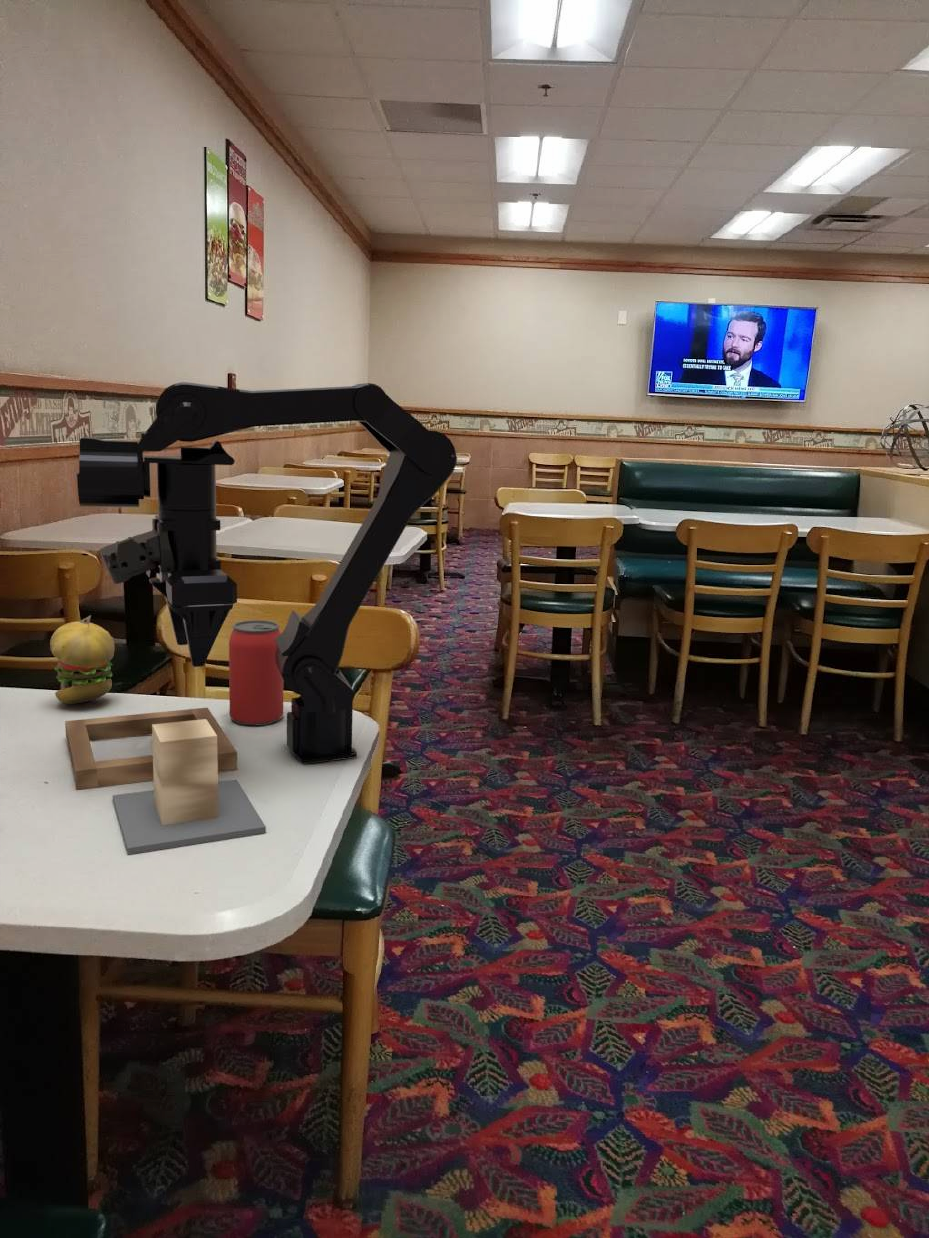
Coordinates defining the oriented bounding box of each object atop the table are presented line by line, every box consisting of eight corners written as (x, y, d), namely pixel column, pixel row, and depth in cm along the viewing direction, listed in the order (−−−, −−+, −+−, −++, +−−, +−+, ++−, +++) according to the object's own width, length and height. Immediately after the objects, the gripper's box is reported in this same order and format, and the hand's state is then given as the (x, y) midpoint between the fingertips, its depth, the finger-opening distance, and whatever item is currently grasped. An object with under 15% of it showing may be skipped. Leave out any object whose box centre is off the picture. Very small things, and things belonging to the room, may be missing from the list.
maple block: (207, 796, 91) (206, 718, 89) (218, 817, 87) (217, 735, 85) (154, 803, 89) (151, 724, 87) (162, 825, 84) (160, 742, 83)
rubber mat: (236, 784, 96) (236, 779, 96) (265, 832, 85) (265, 826, 85) (112, 801, 90) (112, 795, 90) (127, 854, 80) (127, 848, 80)
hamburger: (98, 692, 124) (94, 604, 121) (128, 704, 119) (125, 613, 116) (41, 704, 118) (36, 612, 115) (71, 717, 113) (66, 622, 111)
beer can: (270, 729, 112) (270, 633, 110) (220, 723, 114) (219, 628, 111) (291, 713, 119) (291, 621, 116) (243, 707, 120) (242, 617, 117)
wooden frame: (207, 723, 114) (207, 707, 113) (237, 769, 100) (237, 751, 99) (66, 737, 107) (65, 721, 106) (76, 789, 93) (75, 771, 92)
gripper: (94, 498, 100) (100, 639, 103) (113, 519, 84) (119, 685, 87) (200, 499, 105) (202, 633, 108) (237, 518, 89) (238, 676, 92)
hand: (189, 654), depth 99 cm, fingers open, 9 cm apart
